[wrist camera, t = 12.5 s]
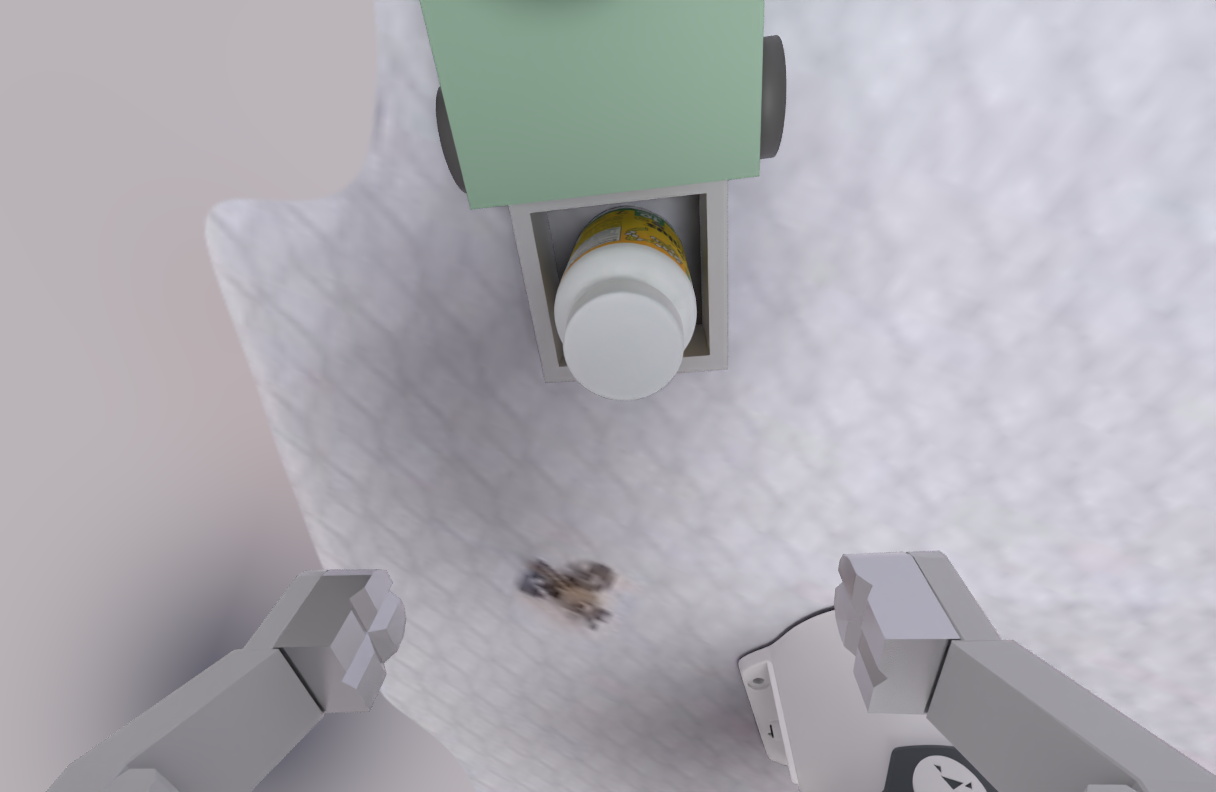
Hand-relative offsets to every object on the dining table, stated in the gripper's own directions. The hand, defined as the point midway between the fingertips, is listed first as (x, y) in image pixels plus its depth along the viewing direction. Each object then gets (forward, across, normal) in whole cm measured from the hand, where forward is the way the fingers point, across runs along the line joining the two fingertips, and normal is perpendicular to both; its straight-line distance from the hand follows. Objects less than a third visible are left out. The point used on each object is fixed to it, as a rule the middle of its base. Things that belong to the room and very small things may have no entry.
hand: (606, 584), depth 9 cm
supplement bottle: (+19, 0, +1) cm, 19 cm away
